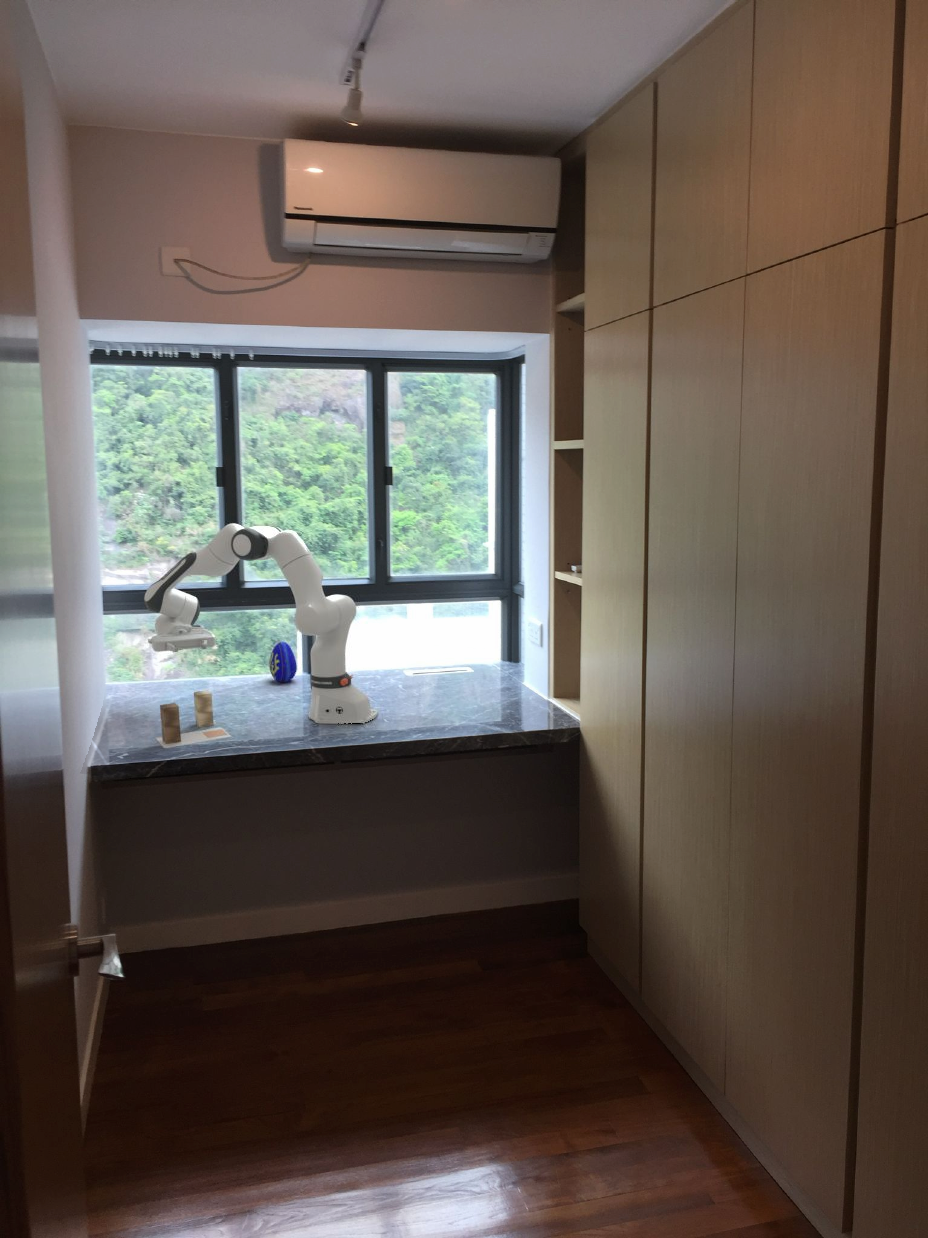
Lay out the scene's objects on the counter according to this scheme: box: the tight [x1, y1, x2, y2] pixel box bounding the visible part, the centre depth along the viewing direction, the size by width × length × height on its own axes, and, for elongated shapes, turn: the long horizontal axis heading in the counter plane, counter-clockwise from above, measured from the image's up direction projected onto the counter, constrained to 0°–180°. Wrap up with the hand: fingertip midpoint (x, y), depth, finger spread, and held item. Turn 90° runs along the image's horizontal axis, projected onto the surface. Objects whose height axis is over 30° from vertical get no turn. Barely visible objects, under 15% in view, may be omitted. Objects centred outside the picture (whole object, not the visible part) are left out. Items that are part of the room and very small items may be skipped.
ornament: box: [268, 641, 298, 683], centre depth 350 cm, size 11×9×15 cm
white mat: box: [155, 726, 232, 749], centre depth 286 cm, size 20×11×1 cm, turn 121°
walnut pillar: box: [159, 702, 182, 744], centre depth 282 cm, size 4×4×11 cm
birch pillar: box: [193, 689, 215, 728], centre depth 298 cm, size 4×4×11 cm
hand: (190, 648), depth 305 cm, fingers open, 8 cm apart
